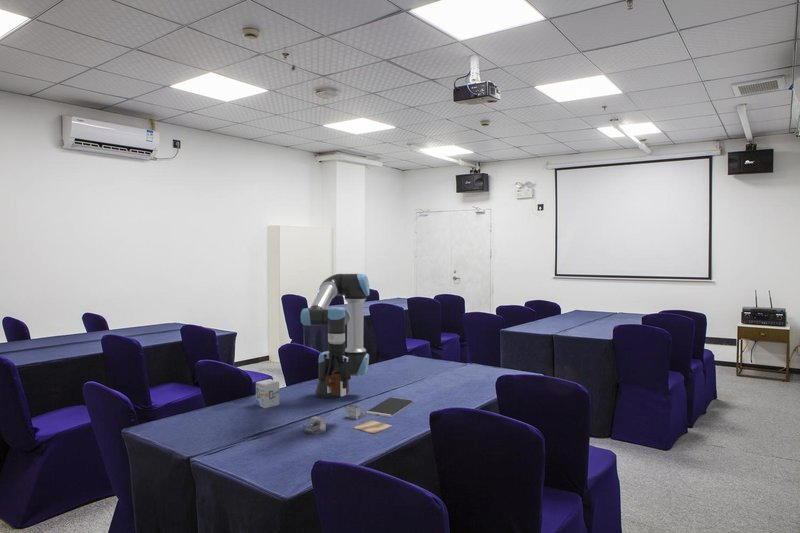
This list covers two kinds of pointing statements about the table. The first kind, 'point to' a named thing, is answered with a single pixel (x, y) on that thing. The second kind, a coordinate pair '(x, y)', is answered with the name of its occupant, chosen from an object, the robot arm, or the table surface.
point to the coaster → (372, 427)
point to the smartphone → (389, 407)
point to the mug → (336, 383)
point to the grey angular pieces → (320, 423)
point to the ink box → (267, 393)
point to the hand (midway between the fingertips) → (336, 393)
